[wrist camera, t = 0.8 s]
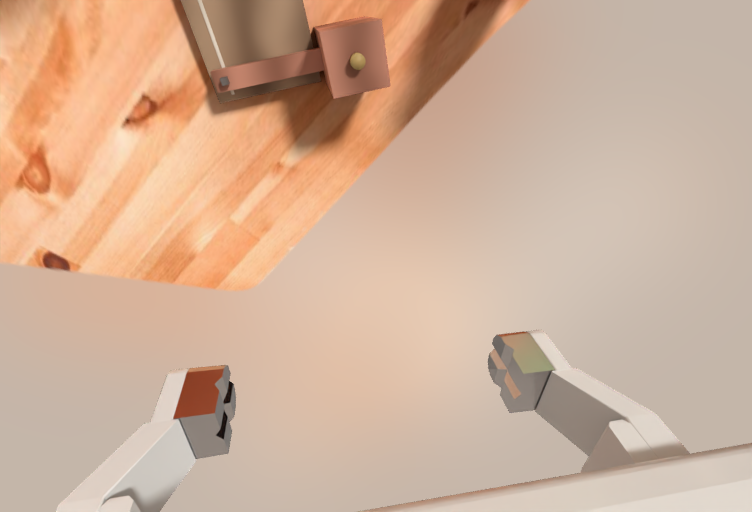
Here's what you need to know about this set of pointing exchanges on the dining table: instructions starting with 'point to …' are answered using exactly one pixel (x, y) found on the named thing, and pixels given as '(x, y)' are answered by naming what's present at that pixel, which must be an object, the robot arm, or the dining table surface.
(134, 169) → the dining table surface
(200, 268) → the dining table surface
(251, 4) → the plank
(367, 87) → the latch lever with knob
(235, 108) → the dining table surface
